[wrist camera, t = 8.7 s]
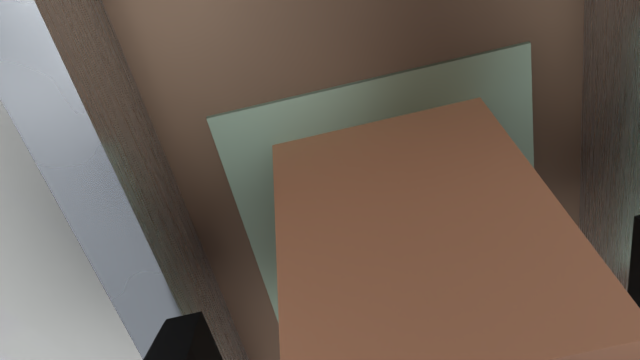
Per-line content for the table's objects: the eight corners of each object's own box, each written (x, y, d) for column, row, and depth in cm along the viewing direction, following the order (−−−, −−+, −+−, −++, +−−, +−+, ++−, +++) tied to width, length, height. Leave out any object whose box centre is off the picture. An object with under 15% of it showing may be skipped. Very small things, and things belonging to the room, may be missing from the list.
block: (480, 97, 11) (660, 335, 6) (492, 258, 13) (635, 535, 8) (272, 145, 11) (282, 416, 6) (316, 297, 14) (351, 591, 8)
